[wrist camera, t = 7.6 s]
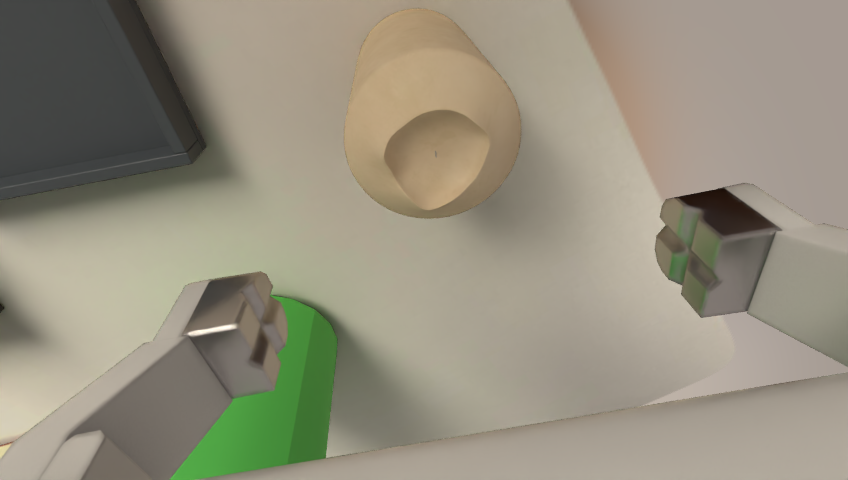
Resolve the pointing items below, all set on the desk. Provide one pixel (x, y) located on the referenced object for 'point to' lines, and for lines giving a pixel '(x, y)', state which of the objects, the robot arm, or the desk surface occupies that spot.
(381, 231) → the desk surface
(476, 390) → the desk surface
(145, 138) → the soap tray
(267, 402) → the bottle
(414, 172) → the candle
